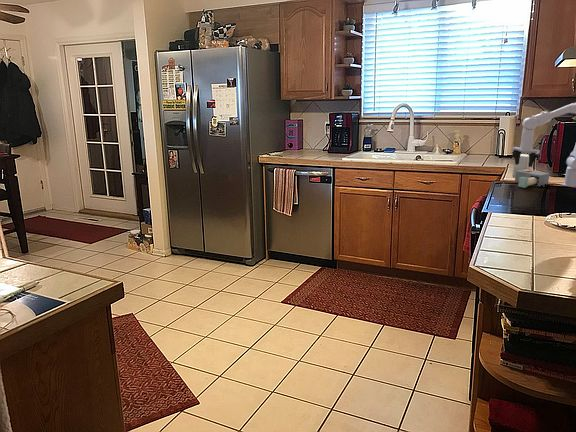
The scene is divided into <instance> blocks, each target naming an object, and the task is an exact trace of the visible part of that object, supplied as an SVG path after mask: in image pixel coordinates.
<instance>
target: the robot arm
mask: <svg viewBox="0 0 576 432" xmlns="http://www.w3.org/2000/svg"><path fill="white" fill-rule="evenodd" d="M566 114H575V115H576V102H572V103H570V104H567V105H564V106H562V107H560V108H557V109H555V110H553V111H552V110H551V111H550V112H549V111H540V113H538V114H536V115H534V114H533V115H531V117H526V118H524V119H523V120H522V122H521V126H522V130H521V131H522V132H521V139H520V145H519V147H518V146H512V148H511V151H512V156H513V158H514V159H515V164H516V165H517V164H519V159H520V155H521V154H522V153H526V154H527V153H529V154H528V155H529V167H530V168H531V167H533V164H534V162H535V160H536V159H537V157H538V156H539V155H540V152H541V150H540V149H534V148H533V142H534V135H535V129H536V127H539V126H541V125H544V124H546V123H549V122H551V120H552V119H554V118H556V117H560V116H563V115H566ZM565 164H566V165H567V167H566V170H565V176H564V182H563V183H561V184H560V186H564V187H565V186H566V187H570V188H576V143H575V145H574V147H573V150H572V151H571V152H570V154H569V156H568V157H567V158H566V161H565Z"/></svg>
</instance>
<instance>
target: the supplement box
mask: <svg viewBox="0 0 576 432" xmlns="http://www.w3.org/2000/svg"><path fill="white" fill-rule="evenodd" d="M523 169H528V170H531V167H529V154H527V153H526V154H525V153H521V155H520V159H519V164H517V165H516V164H515V159H514V162H513V169H512V177H514V178H515V175H516V171H518V170H523Z"/></svg>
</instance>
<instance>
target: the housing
mask: <svg viewBox="0 0 576 432" xmlns="http://www.w3.org/2000/svg"><path fill="white" fill-rule="evenodd" d="M524 170H528V169H523V170H518V171H516V175H515V177H514V182H516V183H519V178H520V177H526V178H532V177H537V178H538V184H533V185H532V186H536V187H542V186H545V184H546V185H548V184H549V181H550V172H543V171H539V170H538V171H537V170H532V169H530V170H531V172H525V171H524ZM541 185H542V186H541Z"/></svg>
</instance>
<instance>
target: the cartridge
mask: <svg viewBox="0 0 576 432" xmlns="http://www.w3.org/2000/svg"><path fill="white" fill-rule="evenodd" d="M537 183H538V178H537V177H532V178H526V177H520V178H519V182H518V185H517V187H520V188H522V189H523V188H525V189H526V188H528V186H534V185H533V184H537Z"/></svg>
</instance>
